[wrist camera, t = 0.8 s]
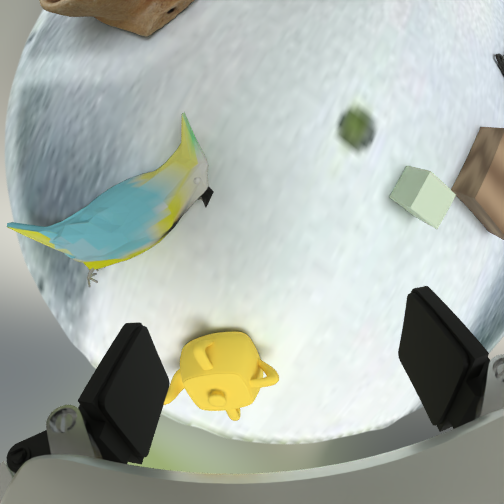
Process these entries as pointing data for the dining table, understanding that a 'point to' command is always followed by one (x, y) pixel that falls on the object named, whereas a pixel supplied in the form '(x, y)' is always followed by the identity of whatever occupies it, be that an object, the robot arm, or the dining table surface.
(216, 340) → the teapot
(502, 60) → the walkie-talkie
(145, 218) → the decorative bird
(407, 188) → the sage block
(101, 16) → the clay spout
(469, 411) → the robot arm
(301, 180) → the dining table surface
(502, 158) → the walnut box
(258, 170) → the dining table surface
